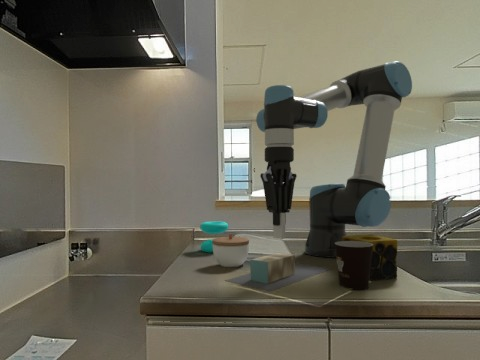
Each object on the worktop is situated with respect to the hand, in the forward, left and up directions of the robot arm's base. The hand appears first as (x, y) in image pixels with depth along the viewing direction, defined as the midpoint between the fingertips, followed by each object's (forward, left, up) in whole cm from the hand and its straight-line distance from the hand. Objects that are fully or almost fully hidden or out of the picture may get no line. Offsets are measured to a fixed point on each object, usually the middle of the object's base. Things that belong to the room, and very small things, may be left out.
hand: (279, 237), depth 100 cm
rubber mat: (-1, 0, -10) cm, 10 cm away
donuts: (-15, -39, -10) cm, 43 cm away
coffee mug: (-5, +18, -10) cm, 21 cm away
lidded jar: (-1, -18, -10) cm, 21 cm away
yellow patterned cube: (-16, +17, -10) cm, 25 cm away
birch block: (-3, 0, -7) cm, 8 cm away
